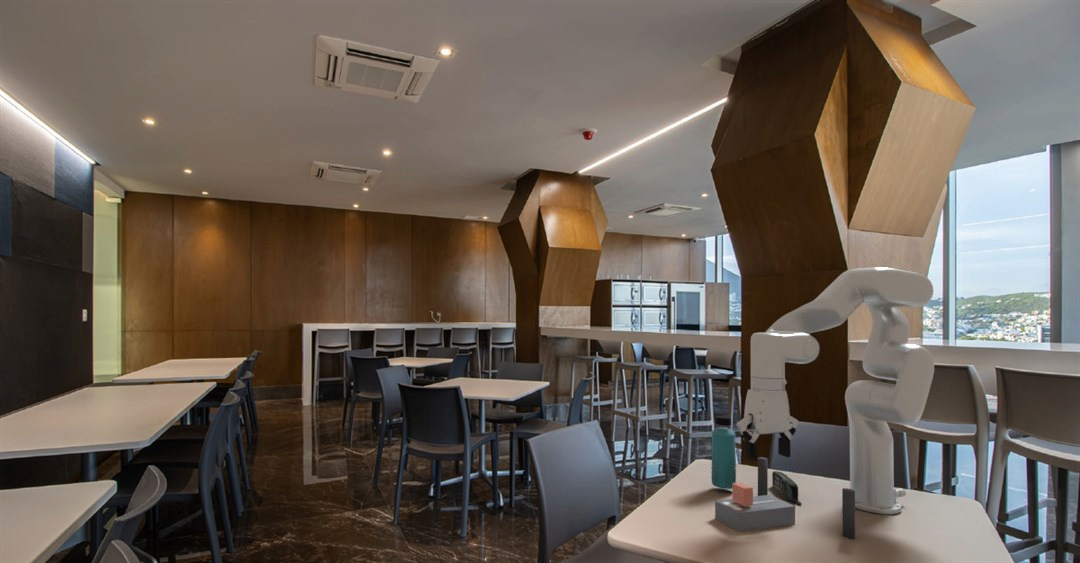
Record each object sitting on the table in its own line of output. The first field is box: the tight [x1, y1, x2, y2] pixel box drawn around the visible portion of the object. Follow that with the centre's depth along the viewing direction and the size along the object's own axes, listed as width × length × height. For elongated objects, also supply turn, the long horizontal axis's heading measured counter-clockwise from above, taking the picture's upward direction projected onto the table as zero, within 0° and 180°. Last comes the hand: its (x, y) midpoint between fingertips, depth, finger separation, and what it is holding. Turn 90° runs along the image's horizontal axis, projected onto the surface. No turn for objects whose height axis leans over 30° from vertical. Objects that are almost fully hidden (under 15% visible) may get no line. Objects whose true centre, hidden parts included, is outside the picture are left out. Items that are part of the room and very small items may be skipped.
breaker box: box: [714, 494, 796, 532], centre depth 125 cm, size 16×8×4 cm, turn 109°
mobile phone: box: [771, 470, 803, 506], centre depth 143 cm, size 5×3×15 cm
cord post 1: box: [757, 456, 769, 496], centre depth 142 cm, size 2×2×10 cm
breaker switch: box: [731, 481, 754, 507], centre depth 124 cm, size 2×4×4 cm, turn 19°
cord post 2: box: [841, 487, 856, 540], centre depth 117 cm, size 2×2×10 cm
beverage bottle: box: [710, 415, 737, 490], centre depth 146 cm, size 6×7×20 cm
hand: (768, 457), depth 127 cm, fingers open, 9 cm apart
